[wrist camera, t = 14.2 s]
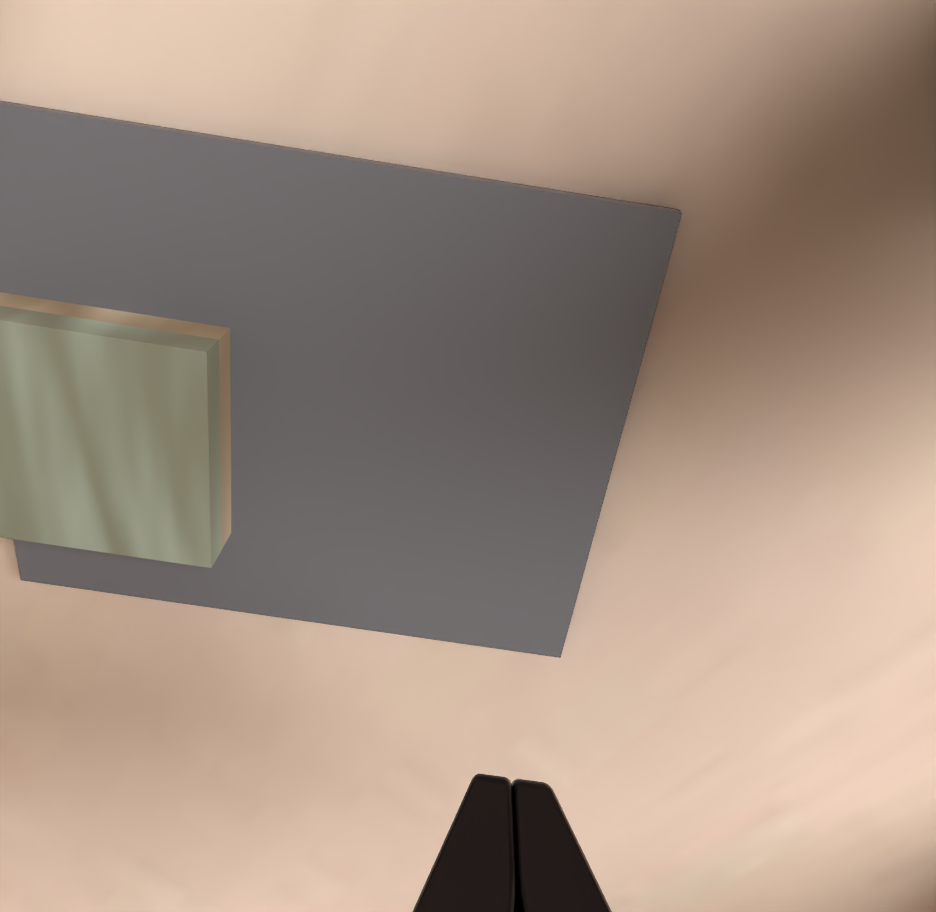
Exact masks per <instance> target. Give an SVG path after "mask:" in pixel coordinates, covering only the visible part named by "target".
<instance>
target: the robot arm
mask: <svg viewBox="0 0 936 912" xmlns="http://www.w3.org/2000/svg"><path fill="white" fill-rule="evenodd" d="M413 912H612V911H611V909H610V907H609V905H608V903H607V901H606V899H605V897H604V895H603V893H602V891H601V888H600V886H599V884H598V882H597V880H596V878H595V876H594V874H593V872H592V870H591V868H590V866H589V864H588V862H587V859H586V857H585V855H584V853H583V851H582V849H581V847H580V845H579V843H578V841H577V839H576V837H575V835H574V833H573V830H572V828H571V826H570V824H569V822H568V820H567V818H566V816H565V814H564V812H563V810H562V808H561V806H560V803H559V801H558V799H557V797H556V795H555V793H554V791H553V790H552V788H551V787H550V786H549V785H548V784H546V783H543V782H536V781H529V780H522V779H516V780H514V781H513V782H512V784H511V782H510V780H509V779H508V778H506V777H500V776H493V775H486V774H477V775H475V776H474V777H473V779H472V781H471V783H470V785H469V787H468V789H467V792H466V794H465V796H464V798H463V801H462V803H461V805H460V807H459V809H458V812H457V814H456V816H455V818H454V821H453V823H452V825H451V827H450V829H449V832H448V834H447V836H446V838H445V841H444V843H443V845H442V847H441V850H440V852H439V854H438V856H437V858H436V861H435V863H434V865H433V867H432V870H431V872H430V874H429V876H428V878H427V881H426V883H425V885H424V887H423V890H422V892H421V894H420V896H419V898H418V901H417V903H416V905H415V907H414V910H413Z"/></svg>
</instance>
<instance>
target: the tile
mask: <svg viewBox="0 0 936 912" xmlns="http://www.w3.org/2000/svg"><path fill="white" fill-rule="evenodd" d="M230 534H231V401H230V328H227V327H221V326H214V325H208V324H202V323H195V322H189V321H182V320H176V319H169V318H163V317H157V316H150V315H144V314H137V313H131V312H124V311H118V310H112V309H105V308H99V307H92V306H86V305H79V304H73V303H66V302H60V301H54V300H47V299H41V298H34V297H28V296H21V295H15V294H9V293H2V292H0V537H3V538H9V539H16V540H23V541H30V542H37V543H43V544H50V545H57V546H64V547H71V548H78V549H84V550H91V551H98V552H105V553H112V554H118V555H125V556H132V557H139V558H146V559H152V560H159V561H166V562H173V563H180V564H187V565H193V566H200V567H207V568H212V566H213V564H214V563H215V561H216V559H217V557H218V556H219V554H220V552H221V550H222V549H223V547H224V545H225V543H226V541H227V540H228V538H229V536H230Z"/></svg>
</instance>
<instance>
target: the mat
mask: <svg viewBox="0 0 936 912" xmlns="http://www.w3.org/2000/svg"><path fill="white" fill-rule="evenodd" d="M681 215H682V213H681V212H680V211H679V210H678V209H672V208H666V207H659V206H653V205H647V204H641V203H635V202H628V201H622V200H616V199H610V198H603V197H597V196H591V195H585V194H578V193H572V192H566V191H560V190H553V189H547V188H541V187H535V186H528V185H522V184H516V183H510V182H504V181H497V180H491V179H485V178H479V177H472V176H466V175H460V174H454V173H447V172H441V171H435V170H429V169H422V168H416V167H410V166H404V165H397V164H391V163H385V162H379V161H372V160H366V159H360V158H354V157H348V156H341V155H335V154H329V153H323V152H316V151H310V150H304V149H298V148H291V147H285V146H279V145H273V144H266V143H260V142H254V141H248V140H241V139H235V138H229V137H223V136H217V135H210V134H204V133H198V132H192V131H185V130H179V129H173V128H167V127H160V126H154V125H148V124H142V123H135V122H129V121H123V120H117V119H110V118H104V117H98V116H92V115H85V114H79V113H73V112H67V111H61V110H54V109H48V108H42V107H36V106H29V105H23V104H17V103H11V102H4V101H0V292H2V293H9V294H15V295H21V296H28V297H34V298H41V299H47V300H54V301H60V302H66V303H73V304H79V305H86V306H92V307H99V308H105V309H112V310H118V311H124V312H131V313H137V314H144V315H150V316H157V317H163V318H169V319H176V320H182V321H189V322H195V323H202V324H208V325H214V326H221V327H227V328H230V401H231V534H230V536H229V538H228V540H227V541H226V543H225V545H224V547H223V549H222V550H221V552H220V554H219V556H218V557H217V559H216V561H215V563H214V564H213V566H212V568H207V567H200V566H193V565H187V564H180V563H173V562H166V561H159V560H152V559H146V558H139V557H132V556H125V555H118V554H112V553H105V552H98V551H91V550H84V549H78V548H71V547H64V546H57V545H50V544H43V543H37V542H30V541H23V540H16V539H14V545H15V550H16V556H17V561H18V567H19V573H20V578H21V580H24V581H31V582H38V583H45V584H52V585H59V586H66V587H73V588H80V589H87V590H94V591H100V592H107V593H114V594H121V595H128V596H135V597H142V598H149V599H156V600H163V601H170V602H177V603H184V604H191V605H198V606H205V607H212V608H219V609H226V610H233V611H239V612H246V613H253V614H260V615H267V616H274V617H281V618H288V619H295V620H302V621H309V622H316V623H323V624H330V625H337V626H344V627H351V628H358V629H365V630H372V631H378V632H385V633H392V634H399V635H406V636H413V637H420V638H427V639H434V640H441V641H448V642H455V643H462V644H469V645H476V646H483V647H490V648H497V649H504V650H511V651H517V652H524V653H531V654H538V655H545V656H552V657H559V658H560V657H561V654H562V650H563V646H564V643H565V639H566V635H567V632H568V628H569V624H570V621H571V617H572V613H573V610H574V606H575V603H576V599H577V595H578V592H579V588H580V584H581V581H582V577H583V573H584V570H585V566H586V562H587V559H588V555H589V551H590V548H591V544H592V540H593V537H594V533H595V529H596V526H597V522H598V518H599V515H600V511H601V507H602V504H603V500H604V496H605V493H606V489H607V485H608V482H609V478H610V474H611V471H612V467H613V463H614V460H615V456H616V453H617V449H618V445H619V442H620V438H621V434H622V431H623V427H624V423H625V420H626V416H627V412H628V409H629V405H630V401H631V398H632V394H633V390H634V387H635V383H636V379H637V376H638V372H639V368H640V365H641V361H642V357H643V354H644V350H645V346H646V343H647V339H648V335H649V332H650V328H651V324H652V321H653V317H654V314H655V310H656V306H657V303H658V299H659V295H660V292H661V288H662V284H663V281H664V277H665V273H666V270H667V266H668V262H669V259H670V255H671V251H672V248H673V244H674V240H675V237H676V233H677V229H678V226H679V222H680V218H681Z"/></svg>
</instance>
